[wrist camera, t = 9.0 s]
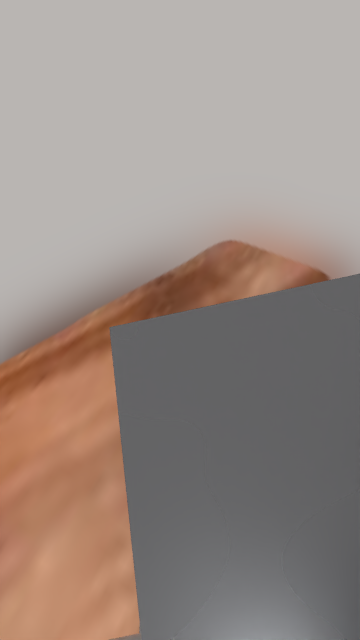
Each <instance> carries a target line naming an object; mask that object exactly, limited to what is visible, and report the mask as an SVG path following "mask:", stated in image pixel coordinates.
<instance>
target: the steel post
mask: <svg viewBox="0 0 360 640" xmlns="http://www.w3.org/2000/svg"><path fill="white" fill-rule="evenodd" d="M110 337H111V346H112V356H113V366H114V375H115V385H116V395H117V405H118V414H119V424H120V434H121V443H122V453H123V463H124V473H125V482H126V492H127V502H128V511H129V521H130V531H131V541H132V550H133V560H134V570H135V579H136V589H137V599H138V609H139V618H140V628H141V638H142V640H360V274H357V275H352V276H348V277H343V278H339V279H333V280H329V281H324V282H319V283H315V284H310V285H305V286H301V287H296V288H291V289H286V290H282V291H277V292H272V293H268V294H263V295H258V296H254V297H249V298H244V299H240V300H235V301H230V302H226V303H221V304H216V305H212V306H207V307H202V308H198V309H193V310H188V311H184V312H179V313H174V314H170V315H165V316H160V317H156V318H151V319H146V320H142V321H137V322H132V323H128V324H123V325H118V326H113V327H110Z"/></svg>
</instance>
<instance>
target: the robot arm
mask: <svg viewBox="0 0 360 640" xmlns="http://www.w3.org/2000/svg"><path fill="white" fill-rule="evenodd" d="M110 640H142V638H141V628H140V632H139V633H138V634H133V635H129V636H124V637H119V638H115V639H110Z"/></svg>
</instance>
